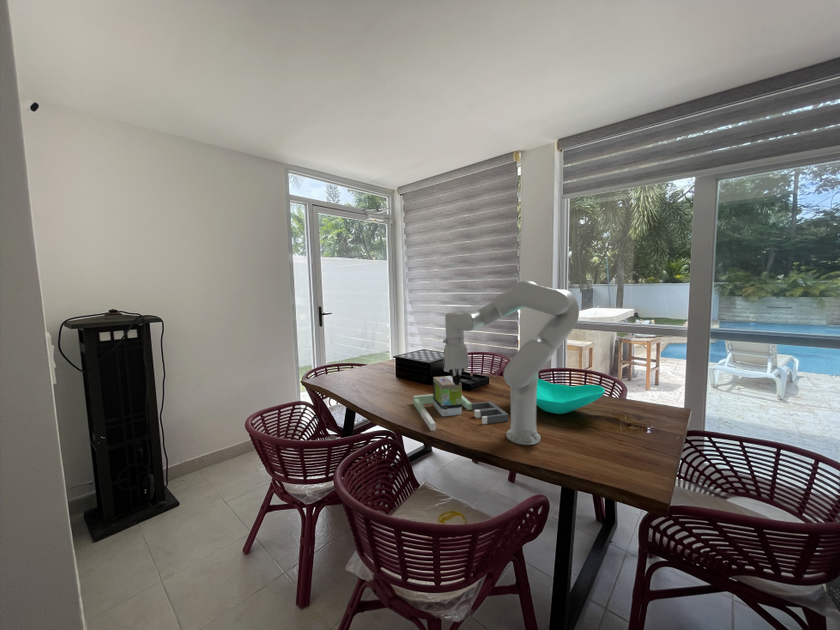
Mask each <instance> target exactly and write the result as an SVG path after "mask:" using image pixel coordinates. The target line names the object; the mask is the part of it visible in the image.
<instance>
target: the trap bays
mask: <svg viewBox="0 0 840 630" xmlns="http://www.w3.org/2000/svg"><path fill="white" fill-rule="evenodd" d="M471 403H472V402H471ZM475 410H480V414H481V418H480V419H482V417H483V416H487V424H489V425H490V424H497V423H503V422H509V419H510V418H509V416H510V415H509V413H507V412H506V411H505V410H503V408H501V407H499V406H498V405H497V404H496V403H494V402H493V401H483V402H476V403H475V402H473V403H472V410H471V411H472V412H474V413H475ZM487 424H486V425H487Z"/></svg>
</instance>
